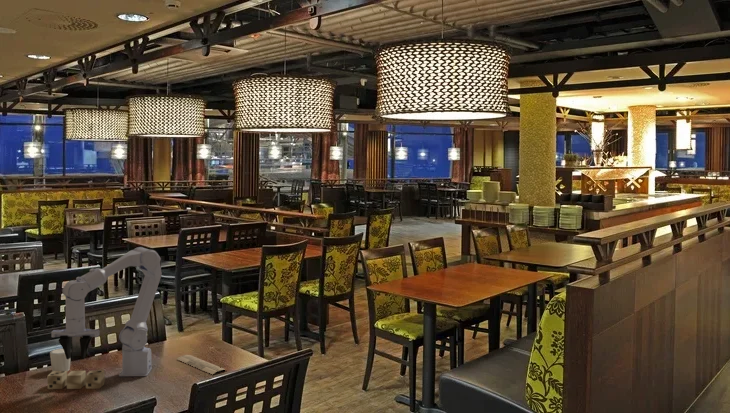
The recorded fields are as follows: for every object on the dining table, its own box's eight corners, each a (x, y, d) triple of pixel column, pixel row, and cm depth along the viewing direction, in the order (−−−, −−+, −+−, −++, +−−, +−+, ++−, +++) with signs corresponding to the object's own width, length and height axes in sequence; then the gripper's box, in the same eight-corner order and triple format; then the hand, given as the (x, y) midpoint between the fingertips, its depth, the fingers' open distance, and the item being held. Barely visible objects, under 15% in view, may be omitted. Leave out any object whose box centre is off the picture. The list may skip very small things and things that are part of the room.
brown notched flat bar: (227, 373, 221) (227, 368, 221) (210, 378, 216) (210, 373, 216) (190, 358, 237) (190, 353, 237) (174, 362, 232) (174, 357, 232)
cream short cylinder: (63, 374, 215) (62, 354, 215) (45, 372, 217) (45, 352, 216) (75, 367, 222) (75, 348, 221) (59, 366, 223) (58, 347, 223)
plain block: (86, 383, 207) (85, 370, 207) (81, 388, 202) (80, 375, 202) (72, 384, 206) (71, 370, 206) (66, 389, 202) (66, 375, 202)
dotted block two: (104, 383, 207) (104, 370, 207) (100, 388, 203) (99, 374, 203) (90, 383, 207) (90, 370, 207) (85, 388, 202) (85, 375, 202)
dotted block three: (67, 384, 206) (67, 370, 206) (61, 389, 202) (61, 375, 201) (53, 384, 206) (53, 370, 206) (47, 389, 201) (47, 375, 201)
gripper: (47, 320, 198) (48, 362, 199) (94, 320, 199) (94, 361, 200) (56, 315, 205) (56, 355, 206) (101, 315, 206) (101, 354, 207)
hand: (76, 358), depth 204 cm, fingers open, 4 cm apart
